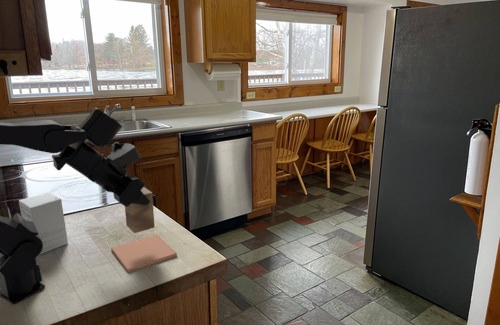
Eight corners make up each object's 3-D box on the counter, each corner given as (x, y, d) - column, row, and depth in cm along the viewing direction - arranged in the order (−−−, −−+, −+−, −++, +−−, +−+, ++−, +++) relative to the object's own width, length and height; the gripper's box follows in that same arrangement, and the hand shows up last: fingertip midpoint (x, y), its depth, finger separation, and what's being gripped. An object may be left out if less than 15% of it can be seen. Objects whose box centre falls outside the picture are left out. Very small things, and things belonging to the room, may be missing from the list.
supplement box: (55, 235, 99) (48, 191, 96) (68, 244, 95) (62, 198, 91) (26, 245, 94) (17, 199, 90) (38, 255, 89) (30, 207, 86)
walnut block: (134, 233, 86) (131, 197, 84) (126, 225, 90) (123, 191, 87) (154, 227, 89) (152, 192, 87) (146, 220, 93) (143, 186, 90)
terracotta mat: (128, 272, 83) (127, 269, 82) (111, 250, 92) (111, 247, 92) (176, 255, 90) (176, 252, 89) (156, 236, 99) (156, 234, 99)
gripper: (131, 142, 74) (183, 183, 83) (101, 127, 88) (148, 164, 97) (95, 187, 71) (152, 224, 81) (70, 165, 85) (121, 198, 95)
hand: (144, 199), depth 88 cm, fingers closed on walnut block, 5 cm apart
